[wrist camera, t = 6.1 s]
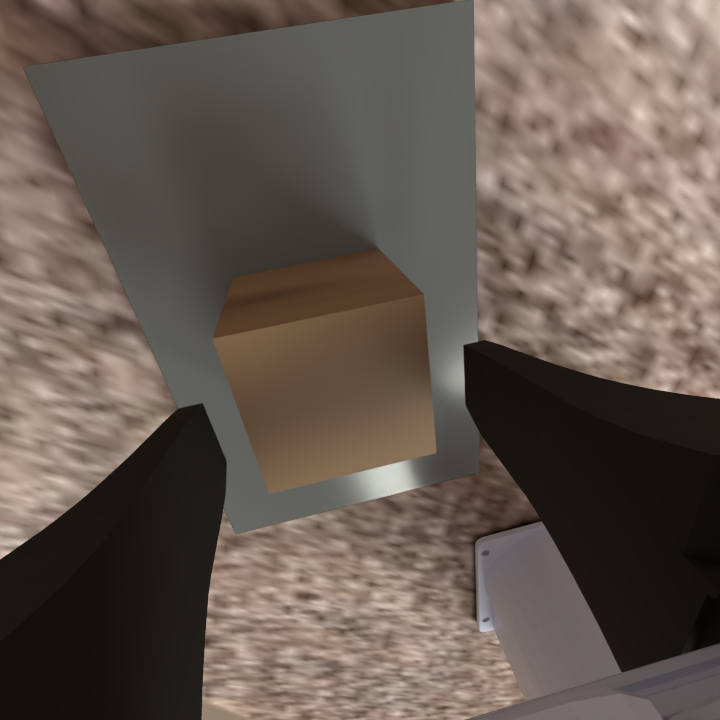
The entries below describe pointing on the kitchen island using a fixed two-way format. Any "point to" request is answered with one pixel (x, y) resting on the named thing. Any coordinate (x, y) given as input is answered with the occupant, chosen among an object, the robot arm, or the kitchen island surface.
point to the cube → (328, 367)
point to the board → (284, 201)
